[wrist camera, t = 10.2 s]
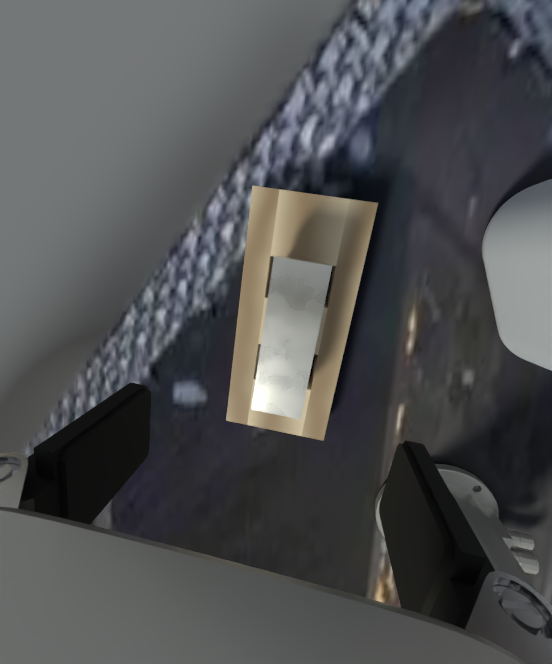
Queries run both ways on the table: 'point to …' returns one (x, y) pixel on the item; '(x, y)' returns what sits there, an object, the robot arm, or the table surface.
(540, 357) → the plastic bottle
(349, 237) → the birch rail
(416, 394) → the table surface
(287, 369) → the brushed steel block
